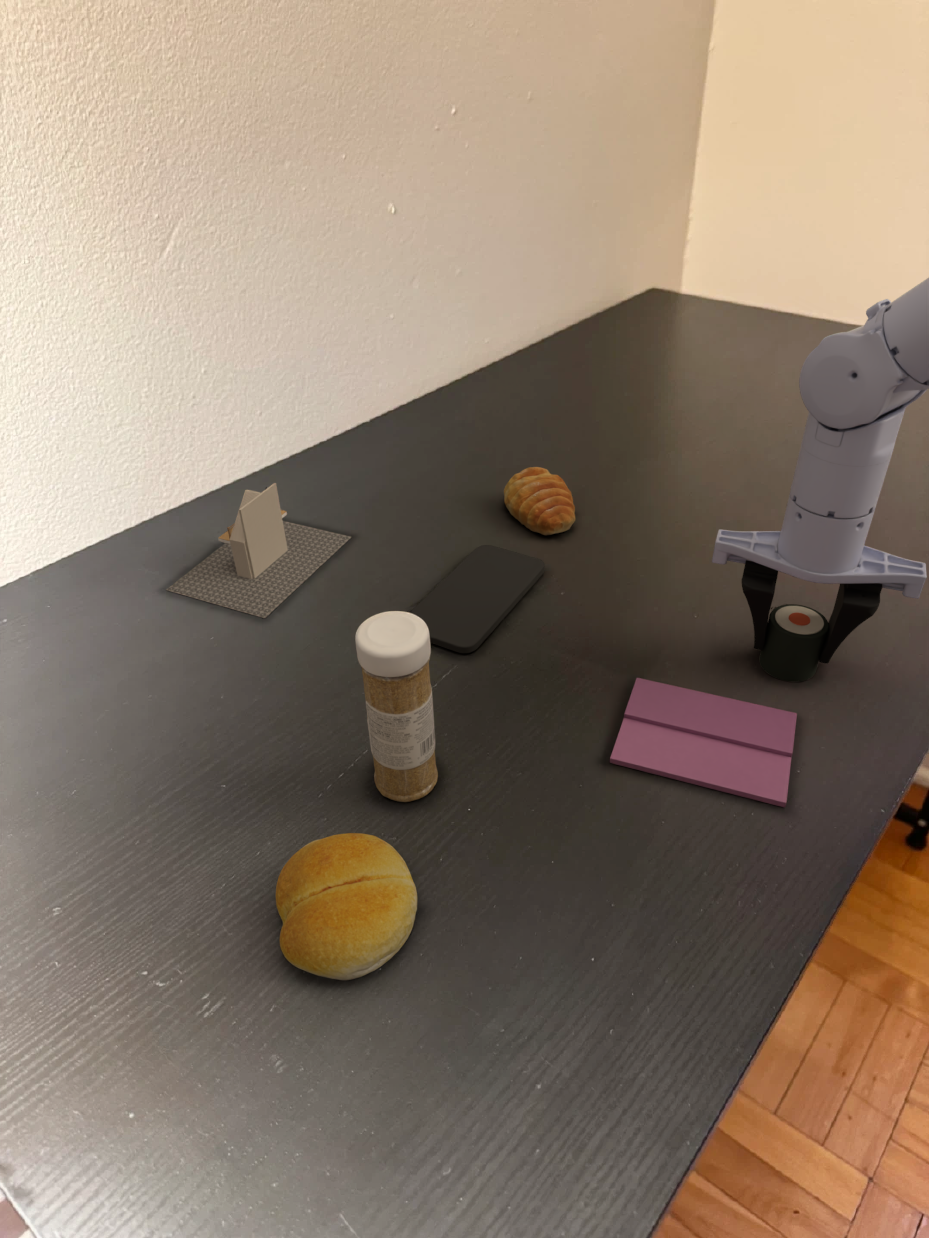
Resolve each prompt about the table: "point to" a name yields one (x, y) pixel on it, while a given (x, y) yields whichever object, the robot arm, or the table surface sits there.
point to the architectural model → (259, 558)
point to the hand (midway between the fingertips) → (791, 649)
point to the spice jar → (399, 703)
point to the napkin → (707, 741)
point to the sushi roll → (793, 642)
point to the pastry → (540, 501)
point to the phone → (477, 596)
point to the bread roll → (345, 905)
